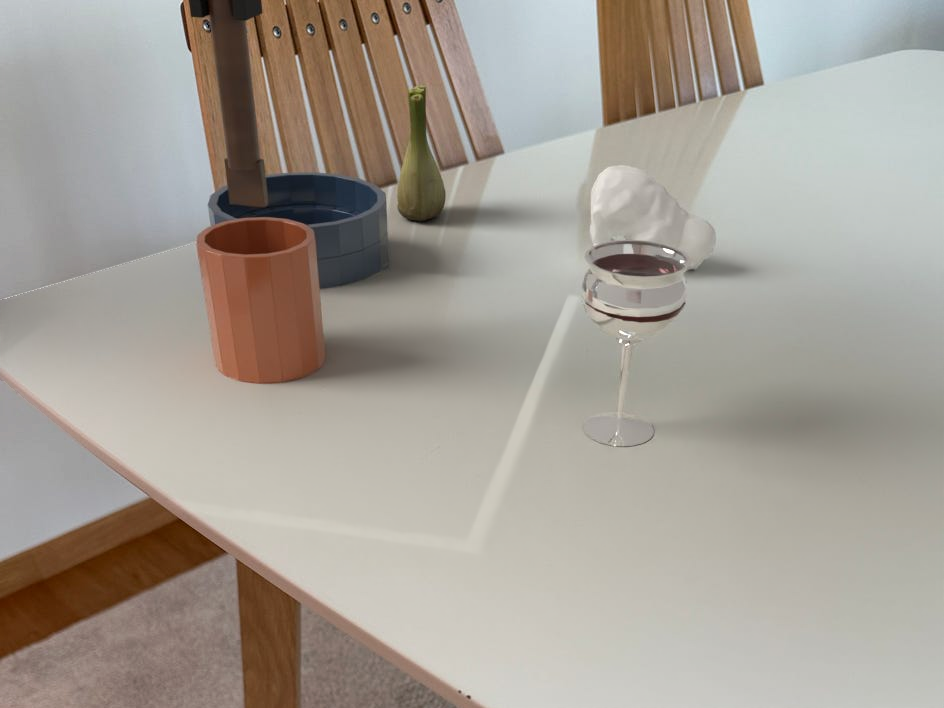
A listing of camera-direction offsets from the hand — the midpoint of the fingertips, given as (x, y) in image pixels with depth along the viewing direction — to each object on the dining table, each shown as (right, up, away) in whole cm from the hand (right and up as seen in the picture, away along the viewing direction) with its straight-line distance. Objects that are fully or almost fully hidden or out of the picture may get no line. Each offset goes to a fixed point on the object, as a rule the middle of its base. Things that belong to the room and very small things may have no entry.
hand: (227, 14), depth 65 cm
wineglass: (+26, -24, +8) cm, 36 cm away
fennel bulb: (+10, +4, +42) cm, 44 cm away
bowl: (0, -4, +31) cm, 32 cm away
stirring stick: (0, -9, +7) cm, 11 cm away
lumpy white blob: (+32, -4, +33) cm, 46 cm away
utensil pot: (0, -18, +15) cm, 23 cm away
